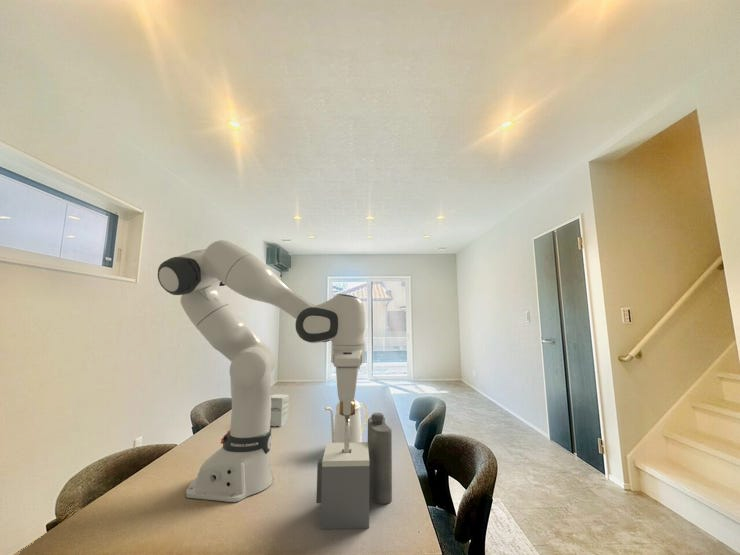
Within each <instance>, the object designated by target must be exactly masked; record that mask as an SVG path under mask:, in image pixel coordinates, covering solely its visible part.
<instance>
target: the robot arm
mask: <svg viewBox="0 0 740 555" xmlns="http://www.w3.org/2000/svg"><path fill="white" fill-rule="evenodd" d="M157 280H158V283H159V284H160V286H161V287H162V288H163V289H164V290H165V292H166V293H168V294H170V295H173V296H180V305H181V307H182V308H183V311H184V312H185V315H187V317H188V319H189V321H190V322H191V323H192V324H193V326H194V327H195V328H196V329H197V330H198V331H199V332H200V333H201V335H202V336H203V337H204V339H206V341H207V342H208V344H210V346H212V348H213V349H214V350H217V351H218V352H219V353H221V355H223V357H225V359H227V360H229V361H230V365H229V376H230V377H229V378H230V396H231V397H230V398H231V413H230V414H231V416H230V429H229V430H227V431H226V434H224V435H223V437H222V438H221V439H220V444H221V445H222V447H220V448H219V449H218V450H216V452H215V453H213V454H212V455H210V456H209V457H208V458H207V459H205V461H204V462H203V463H202V465H201V466H200V468H199V471H198V473H197V476H196V478H194V480H192V482H190V484H189V485H188V486H187V488H186V492H185V497H186V498H188V499H189V498H190V499H197V500H198V499H199V500H209V501H210V500H211V501H220V502H229V503H237V502H240V501H242V500H244V499H245V498H247V497H250V496H252V495H255V494H258V493H261V492H263V491H264V490H266V489H267V488H269V487H270V486H271V484H273V481H274V476H273V473H272V467H271V456H270V455H271V452H270V451H271V447H272V437H273V436H272V428H271V426H270V419H271V396H272V391H271V390H272V389H271V385H272V384H271V382H272V380H271V379H272V378H271V376H272V371H273V370H274V368H275V365H276V356H275V353H274V352H273V350H272V349H271V348H270V347H269V345H267V344H266V343H265V341H263V339H262V338H261V337H259V336H258V334H257V333H256V332H255V331H254V330H252V328H250V327H249V326H248V325H247V323H246V322H245V321H244V320H243V319H242V318H241V317H240V316H239V314H238V313H237V312H236V311H235V310H234V309H233V307H232V306H231V305H230V304H229V302H227V300H226V299H225V298H224V296H222V295H221V292H220V287H224V286H226V287H228V288H229V289H230V290H232V291H233V292H235V293H236V294H239V295H241V296H243V297H245V298H247V299H250V300H253V301H257V302H263V303H266V304H268V305H272V306H275V307H277V308H279V309H281V310H282V311H284V312H285V313H286V314H288V315H289V316H291V317H293V318H294V319H295V323H294V324H295V325H294V326H295V331H296V333H297V336H298V337H299V338H300V339H301V340H303V341H305V342H307V343H311V344H317V343H327V342H330V341H331V356H330V363H332V365H333V367H334V368H335V374H336V376H335V377H336V386H337V387H336V388H337V390H336V391H337V396H338V402H339V401H343V414H344V415H350V413H351V401H353V400H355V396H356V389H357V381H358V373H359V370H360V369H361V366H362V364H364V363H365V362H366V356H365V354H366V347H365V346H366V342H365V339H364V333H365V329H366V317H365V316H366V313H365V305H364V302H363V301H362V299H360V298H359V297H358V296H354V295H350V294H343V293H338V294H336V295H334V296H333V297H332V298H330V299H328V300H326V301H325V302H322V303H320V304H316V305H314V304H313V303H311V302H310V301H308V300H307V299H305V298H304V297H302V296H300V295H299V294H298V293H296V292H295V291H294V290H292V289H290V288H289V287H288V286H287V284H285V283H284V281H282V280H281V279H280V278H279V277H278V276H277V275H276V273H274V272H273V271H272V270H271V268H269V267H268V266H267V265H266V264H265V263H264V262H263V261H262V260H260V259H259V258H258V257H257V256H255V255H254V254H252V253H251V252H249V251H248V250H246V249H245V248H243V247H241V246H239V245H237V244H235V243H234V242H233V243H232V242H230V241H228V240H222V239H221V240H220V239H219V240H217V241H214V242H211V243H210V244H209V245H208V246H207V247H206V248H204V249H197V250H193V251H191V252H188V253H184V254H181V255H177V256H173V257H170V258H168V259H166V260H165V261H163V262H161V263H160V265H159V266H158V269H157Z"/></svg>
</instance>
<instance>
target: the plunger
mask: <svg viewBox="0 0 740 555" xmlns="http://www.w3.org/2000/svg"><path fill="white" fill-rule="evenodd" d="M355 400H356V399H354V400H353V401H351V413H350V415H344V414H343V401H340V409H339V414H340V415H342V416H345V437H344V453H349V419H350V416H351V415H354V414H355Z"/></svg>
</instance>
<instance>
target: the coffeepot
mask: <svg viewBox="0 0 740 555" xmlns="http://www.w3.org/2000/svg"><path fill="white" fill-rule="evenodd" d="M354 400H355V414H354V415H351V416H350V419H349V443H354V442H363V438H362V434H363V433H364V432H365V429H366V427H367V426H368V419H369V407H368V405H367V404H366V403H362V402H359V401H358V400H356V399H354ZM339 409H340V401H339V400H338V402H337V404H336V405H335V417H334V410H333V409H332V407H330V406H325V407H324V408H323V409H322V411H323V412H324V411H330V421H331V423H330V427H331V430H330V431H331V443H344V437H345V416H342V415H340V414H339ZM361 409H362V414H363V418H362V419H361Z"/></svg>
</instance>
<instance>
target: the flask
mask: <svg viewBox="0 0 740 555" xmlns="http://www.w3.org/2000/svg"><path fill="white" fill-rule="evenodd" d="M392 434H393V433H392V428H391V427H390V426H389V425H387V423H386V418H385V417H384V414H383V413H381V412H373V413H372V414H371V416H369V417H368V421H367V442H368V451H369V497H371V499H372V500H373V501H374V502H375V503H377V504H379V505H387V504H389V503H391V502H392V500H393V467H392V466H393V457H392V456H393V455H392V454H393V453H392V451H393V450H392V449H393V447H392V446H393V445H392V441H393V440H392V437H393V436H392Z"/></svg>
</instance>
